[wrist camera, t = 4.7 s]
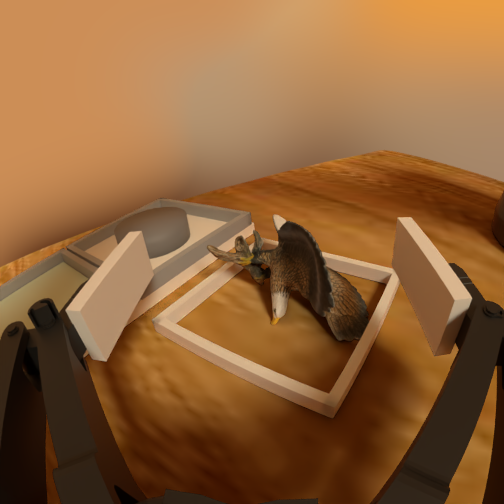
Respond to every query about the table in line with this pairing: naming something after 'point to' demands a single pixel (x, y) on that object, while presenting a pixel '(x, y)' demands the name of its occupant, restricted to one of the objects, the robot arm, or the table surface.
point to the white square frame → (265, 376)
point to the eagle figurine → (301, 278)
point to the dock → (107, 239)
